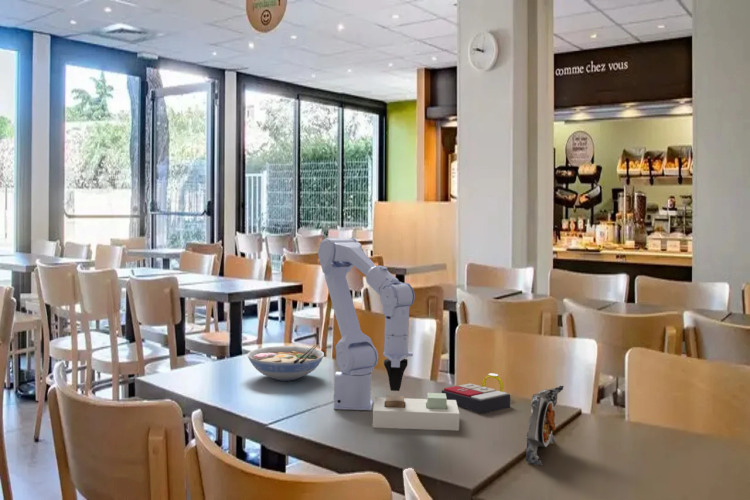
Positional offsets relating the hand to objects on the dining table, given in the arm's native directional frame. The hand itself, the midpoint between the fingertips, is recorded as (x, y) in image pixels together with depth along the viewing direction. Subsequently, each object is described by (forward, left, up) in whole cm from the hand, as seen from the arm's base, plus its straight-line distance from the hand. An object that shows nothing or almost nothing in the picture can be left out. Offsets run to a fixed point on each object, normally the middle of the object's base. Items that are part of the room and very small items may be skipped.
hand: (395, 390), depth 161 cm
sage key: (+10, 0, -4) cm, 11 cm away
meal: (+32, -18, -8) cm, 38 cm away
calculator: (+21, +17, -8) cm, 28 cm away
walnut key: (0, 0, -5) cm, 6 cm away
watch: (+27, +25, -8) cm, 38 cm away
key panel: (+5, 0, -8) cm, 9 cm away
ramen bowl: (-33, +37, -8) cm, 50 cm away
